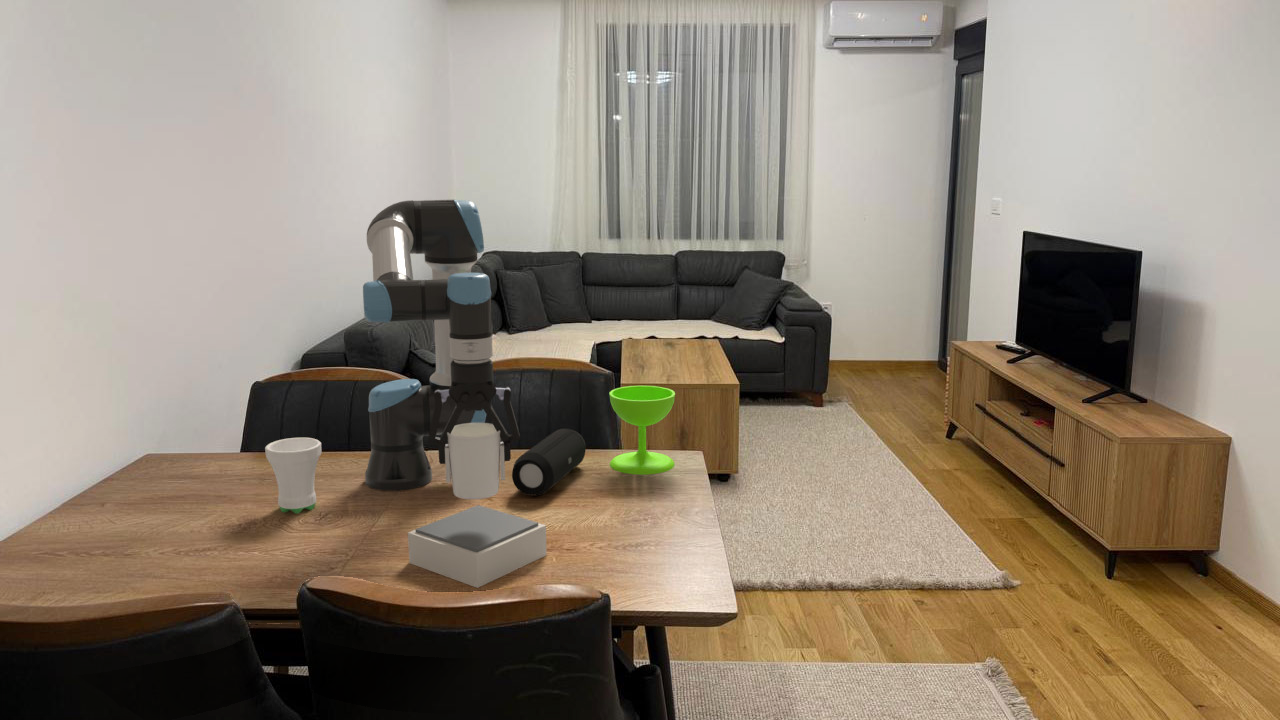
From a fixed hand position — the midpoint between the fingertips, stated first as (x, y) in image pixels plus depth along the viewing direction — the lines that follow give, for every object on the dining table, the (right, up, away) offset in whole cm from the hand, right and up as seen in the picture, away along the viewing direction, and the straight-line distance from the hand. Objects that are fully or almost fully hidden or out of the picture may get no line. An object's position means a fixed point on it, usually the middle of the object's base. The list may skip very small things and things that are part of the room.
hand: (475, 478), depth 181 cm
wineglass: (+31, -4, +60) cm, 68 cm away
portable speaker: (+9, -7, +48) cm, 49 cm away
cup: (-43, -10, +30) cm, 54 cm away
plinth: (0, -15, +3) cm, 16 cm away
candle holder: (0, -3, +1) cm, 3 cm away
